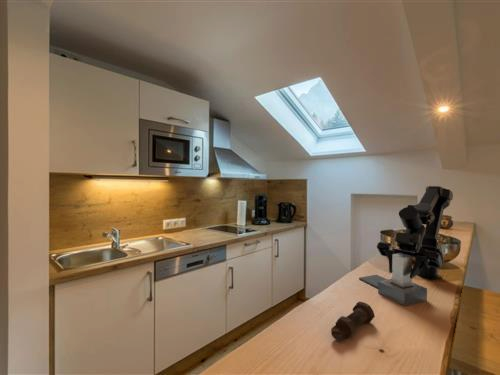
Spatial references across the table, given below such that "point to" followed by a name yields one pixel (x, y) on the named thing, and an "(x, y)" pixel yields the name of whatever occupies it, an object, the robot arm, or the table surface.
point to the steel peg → (401, 270)
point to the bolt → (352, 321)
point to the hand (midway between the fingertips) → (400, 275)
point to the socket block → (402, 293)
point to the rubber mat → (372, 280)
